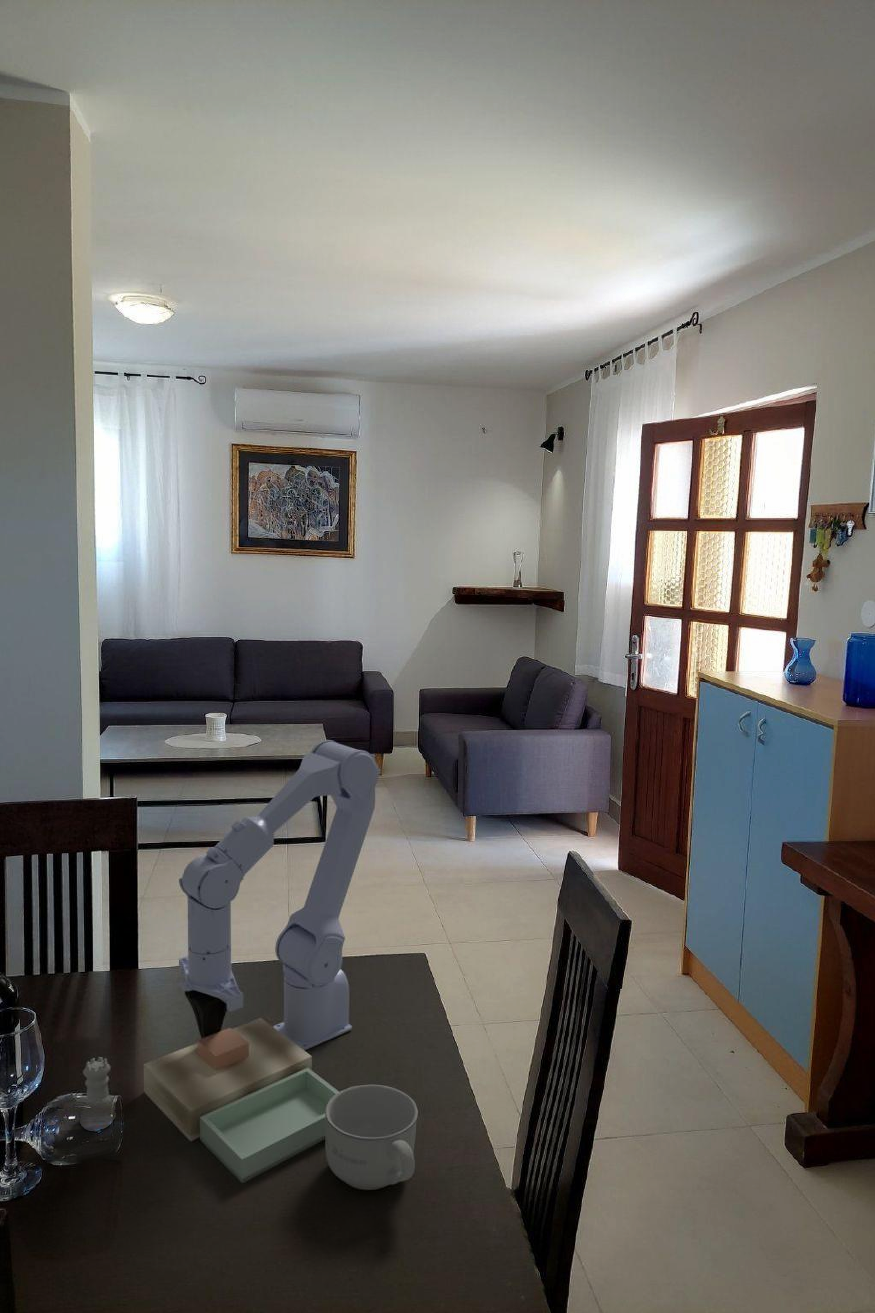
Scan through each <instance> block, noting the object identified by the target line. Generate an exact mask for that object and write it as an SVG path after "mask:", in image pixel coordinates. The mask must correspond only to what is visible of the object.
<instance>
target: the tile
mask: <svg viewBox="0 0 875 1313" xmlns="http://www.w3.org/2000/svg"><path fill="white" fill-rule="evenodd" d="M233 1029H234V1028H231V1027H228V1028H225V1029H222V1030H221V1031H220V1032H218V1033H215V1034H212V1035H210V1036H207V1037H205V1038H200V1039H197V1040H196V1041H197V1042H196V1043H197V1054H198V1055H199V1056H200V1057H201V1058H202V1059H203V1060H204V1061H206V1062H207V1063H208V1064H209V1065H210V1066H211V1067H212V1068H213V1069H214V1070H218V1069H221V1068H223V1067H226V1066H228V1065H230V1064H233V1063H235V1062H237V1061H240V1060H242V1059H244V1058H247V1057H249V1042H247V1041H246V1040H245V1039H244V1038H242V1037H241V1036H240V1035H239V1034H237V1033H236V1032H235V1031H234V1030H233Z"/></svg>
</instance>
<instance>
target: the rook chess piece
mask: <svg viewBox="0 0 875 1313" xmlns="http://www.w3.org/2000/svg"><path fill="white" fill-rule="evenodd" d="M111 1070H112V1069H111V1065H110V1064H109V1063H108V1059H107V1058H103V1056H102V1057H101V1056H98V1058H97V1060H96V1059H95V1057H93V1058H91V1059H90V1061H87V1062H86V1063H85V1068H84V1069H83V1071H82V1075H83V1076H84V1077H85V1078H86V1080H85V1082H84V1083H85V1084H84V1085H85V1086H86V1094H85V1095H86V1096H87V1098H88V1100H89V1101H91V1102H101V1101H103V1100H102V1099H105V1098H106V1097H107V1096H110V1094H109V1086H108V1082H109V1081H110V1078H109V1076H108V1074H109V1072H110V1071H111Z"/></svg>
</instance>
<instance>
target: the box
mask: <svg viewBox="0 0 875 1313" xmlns="http://www.w3.org/2000/svg"><path fill="white" fill-rule="evenodd" d="M339 1092H340V1091H339V1090H338V1089H336V1088H335V1087H334V1086H332V1085H331V1084H330V1083H329V1082H328V1081H326V1080H325V1079H323V1078H322V1077H321V1076H319V1075H318V1074H317V1073H315V1072H314V1071H313V1069H312V1070H310V1069H309V1068H306V1069H304V1070H302V1071H299V1072H297V1073H295V1074H293V1075H291V1076H289V1077H286V1078H284V1079H282V1080H280V1081H278V1082H275V1083H273V1084H271V1085H269V1086H267V1087H265V1088H262V1089H260V1090H258V1091H256V1092H254V1093H251V1094H249V1095H247V1096H245V1097H243V1098H241V1099H238V1100H236V1101H234V1102H232V1103H230V1104H228V1105H225V1106H223V1107H221V1108H219V1109H217V1110H214V1111H212V1112H210V1113H208V1114H206V1115H204V1116H201V1117H200V1137H199V1140H200V1141H201V1142H202V1143H203V1145H204V1146H205V1147H206V1148H207V1149H208V1150H209V1151H210V1152H211V1153H212V1154H213V1155H214V1156H215V1157H216V1158H217V1159H218V1161H220V1162H221V1163H222V1165H224V1167H226V1168H227V1170H228V1171H229V1172H230V1173H231V1174H233V1176H234V1177H236V1179H237V1180H238V1181H239V1182H240V1183H241V1184H244V1183H246V1182H247V1181H249V1180H251V1179H253V1178H255V1177H257V1176H259V1175H261V1174H263V1173H265V1172H267V1171H268V1170H270V1169H272V1168H274V1167H276V1166H278V1165H280V1164H282V1163H283V1162H284V1161H288V1160H289V1159H291V1158H292V1157H294V1156H295V1157H296V1156H297V1155H298V1154H300V1153H302V1152H305V1151H306V1150H308V1149H310V1148H311V1147H313V1146H315V1145H317V1144H318V1143H321V1142H322V1141H324V1140H325V1132H326V1116H325V1110H326V1106H327V1104H328V1102H329V1101H330V1099H331V1098H332V1097H333V1096H334V1095H336V1094H337V1093H339Z"/></svg>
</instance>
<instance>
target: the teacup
mask: <svg viewBox="0 0 875 1313" xmlns="http://www.w3.org/2000/svg"><path fill="white" fill-rule="evenodd" d="M418 1110H419V1109H418V1107H417V1104H416V1102H415V1101H414V1100H413V1098H411V1097H410V1095H408V1094H406V1092H403V1091H402V1090H399V1089H397V1088H395V1087H391V1086H388V1085H382V1084H365V1085H364V1084H361V1085H355V1086H350V1087H349V1088H345V1089H343V1090H340V1091H339V1093H337V1094H336V1095H334V1096H333V1097H332V1098H331V1099H330V1101H329V1102H328V1104H327V1106H326V1110H325V1116H326V1132H325V1141H324V1142H325V1146H324V1147H325V1148H324V1149H325V1157H326V1161H327V1164H328V1166H329V1168H330V1170H331V1171H332V1172H333V1174H334V1175H335V1176H336V1177H337V1178H339V1180H341V1181H343V1182H345V1184H347V1185H349V1186H350V1187H352V1188H354V1189H355V1188H356V1189H359V1190H365V1191H366V1190H367V1191H371V1190H372V1191H373V1190H379V1189H382V1188H385V1187H387V1186H389V1185H395V1184H398V1183H400V1182H405V1181H408V1180H410V1178H411V1177H413V1175H414V1173H415V1172H414V1171H415V1169H416V1165H415V1156H414V1155H415V1154H414V1150H415V1142H416V1131H417V1129H416V1128H417V1120H418V1117H419V1112H418Z"/></svg>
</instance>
